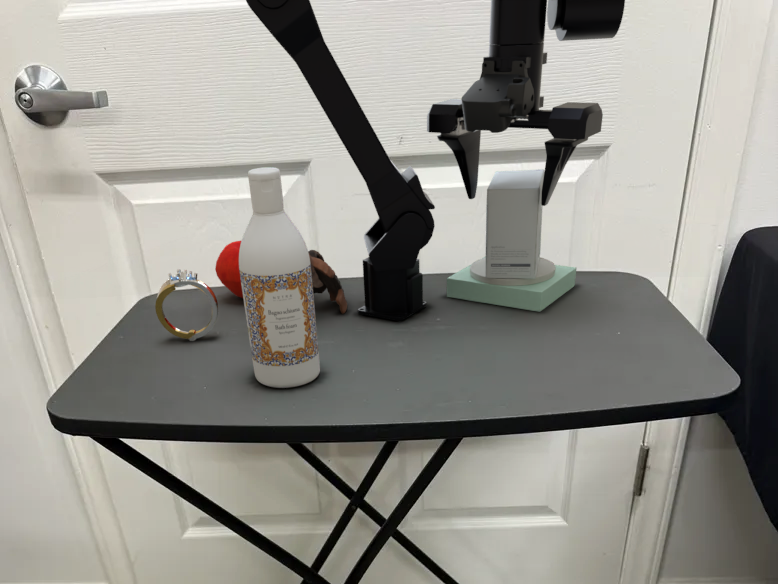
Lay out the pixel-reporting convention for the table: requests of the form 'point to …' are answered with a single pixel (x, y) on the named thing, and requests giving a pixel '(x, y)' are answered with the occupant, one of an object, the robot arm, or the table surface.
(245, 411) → the table surface
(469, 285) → the scale
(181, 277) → the ring
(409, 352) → the table surface
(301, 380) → the bath foam
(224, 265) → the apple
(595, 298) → the table surface
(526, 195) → the cosmetics box
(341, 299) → the brown curved piece
